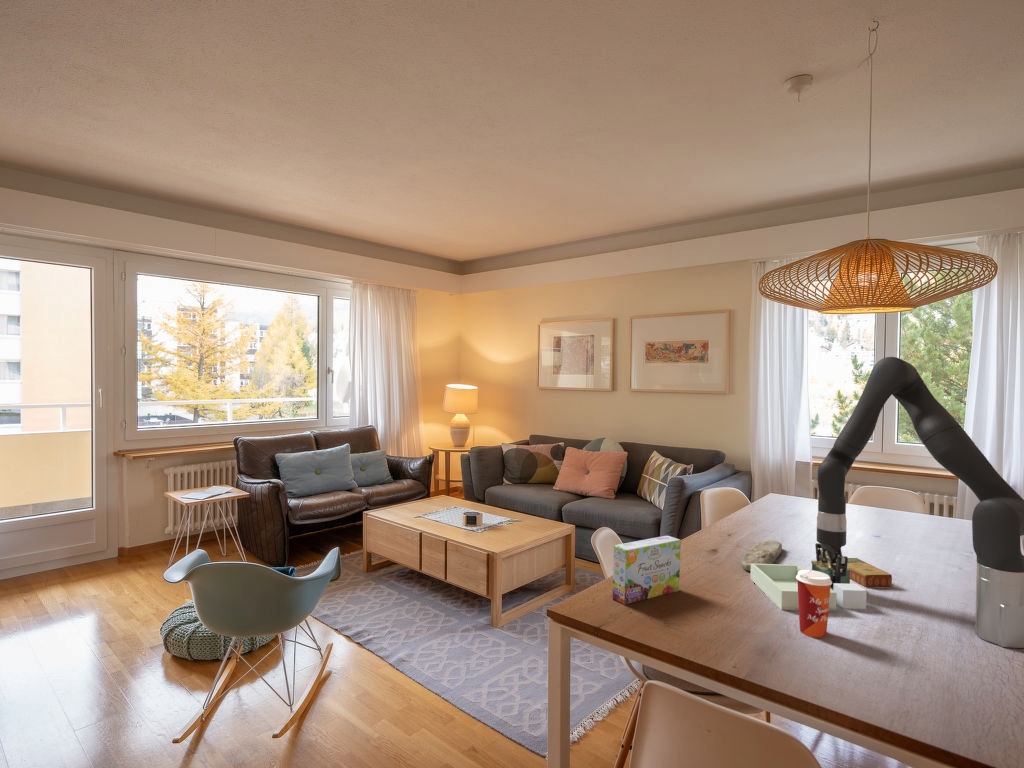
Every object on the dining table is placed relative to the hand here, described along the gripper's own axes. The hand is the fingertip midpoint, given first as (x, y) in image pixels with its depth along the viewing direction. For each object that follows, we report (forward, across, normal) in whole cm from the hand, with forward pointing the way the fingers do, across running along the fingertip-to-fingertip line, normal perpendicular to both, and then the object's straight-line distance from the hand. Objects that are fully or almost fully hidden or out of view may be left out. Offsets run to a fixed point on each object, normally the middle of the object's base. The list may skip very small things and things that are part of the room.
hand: (830, 584), depth 163 cm
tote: (+1, -6, +14) cm, 15 cm away
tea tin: (+1, 0, 0) cm, 1 cm away
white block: (+1, -12, +1) cm, 12 cm away
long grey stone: (+2, +26, +9) cm, 27 cm away
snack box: (+1, -10, +55) cm, 56 cm away
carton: (+2, +10, -14) cm, 17 cm away
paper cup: (+1, -30, +19) cm, 36 cm away
